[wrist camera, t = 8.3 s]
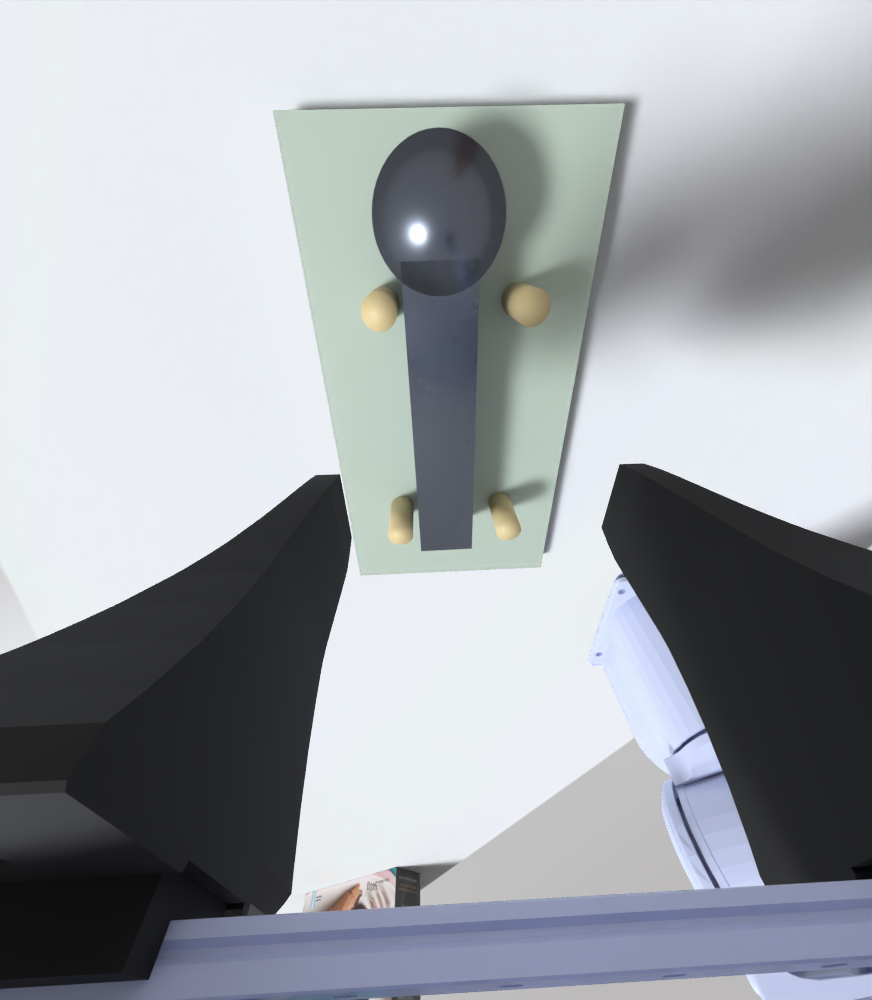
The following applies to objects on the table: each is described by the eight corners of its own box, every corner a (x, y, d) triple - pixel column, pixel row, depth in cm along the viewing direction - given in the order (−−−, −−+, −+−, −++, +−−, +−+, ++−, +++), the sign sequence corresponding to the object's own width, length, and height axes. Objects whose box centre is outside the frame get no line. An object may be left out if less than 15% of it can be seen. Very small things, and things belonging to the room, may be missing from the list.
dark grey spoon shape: (479, 516, 21) (486, 547, 18) (407, 520, 21) (405, 551, 18) (495, 146, 12) (511, 124, 10) (372, 151, 12) (362, 130, 10)
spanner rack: (536, 556, 24) (552, 599, 21) (362, 563, 24) (354, 608, 21) (611, 112, 13) (669, 71, 10) (282, 119, 12) (241, 80, 9)
